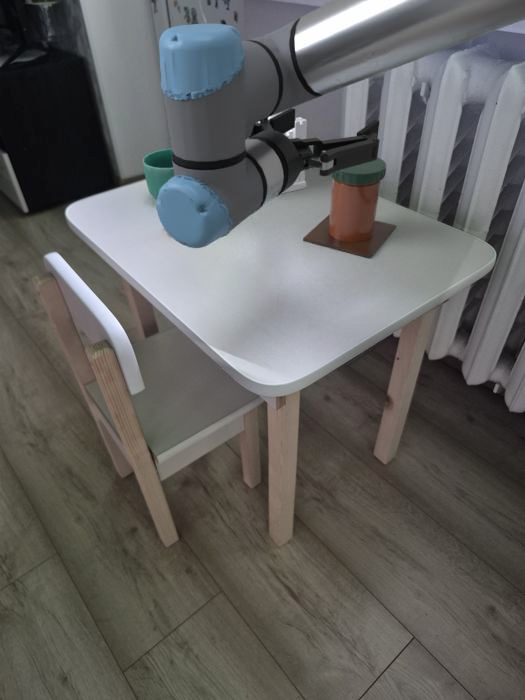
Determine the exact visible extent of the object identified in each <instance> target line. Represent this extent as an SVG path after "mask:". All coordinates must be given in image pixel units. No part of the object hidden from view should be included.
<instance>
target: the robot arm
mask: <svg viewBox="0 0 525 700" xmlns="http://www.w3.org/2000/svg"><path fill="white" fill-rule="evenodd" d="M524 20H525V0H331V1H329V2H327V3H325V4H324V5H322V6H319V7H317V8H316V9H314V10H312V11H310V12H308V13H306V14H304V15H303V16H301V17H300V18H297V19H295V20H293V21H291V22H288V23H287V24H285V25H283V26H281V27H279V28H278V29H276V30H273V31H272V32H269V33H267V34H264V35H261V36H259V37H255V38H252V39H246V40H242V36H241V33H240V32H239V30H238V29H237V28H236V27H234V26H232V25H229V24H224V23H223V24H222V23H192V24H182V25H177V26H172V27H169V28H167V29H166V30H164V31H163V32H162V34H161V35H160V38H159V40H158V49H159V69H160V70H159V71H160V78H161V79H160V87H161V90H162V92H163V98H164V105H165V112H166V119H167V126H168V133H169V139H170V140H169V141H170V145H171V148H172V154H173V157H172V162H173V169H174V177H172V178H171V179H170V180H168V182H167V183H165V184H164V185H163V186H162V187H161V189H160V190H159V194H158V198H157V200H155V201H156V203H155V205H156V211H157V216H158V219H159V221H160V223H161V225H162V227H163V229H164V230H165V231H166V233H167V234H168V235H169V236H170V237H171V238H172V239H173V240H174V241H176V242H177V243H179V244H180V245H182V246H185V247H187V248H192V249H202V248H205V247H208V246H209V245H211V244H213V243H214V242H215V241H218V240H219V239H221V238H223V237H226V236H228V235H229V234H230V232H232V231H233V230H234V229H235V228H236V227H238V225H240V224H241V223H243V222H244V221H245V220H246V219H248V218H249V217H250V216H252V215H253V214H255V213H256V212H257V211H259V210H260V209H261V208H262V207H264V206H265V205H267V204H268V203H269V202H270V201H271V202H272V200H273V199H275V198H276V197H278V196H280V195H282V194H281V193H283V192H284V191H285V190H287V189H288V188H289V187H291V186H292V185H293V184H294V182H295V181H296V179H297V177H298V176H299V174H300V172H301V171H304V170H305V171H307V170H310V169H314V168H315V169H319V171H318V172H319V176H321V177H327V176H328V177H329V176H331V175H330V174H331V173H333V172H335V171H338V170H342V169H345V168H349V167H353V166H356V165H360V164H364V163H367V162H371V161H374V160H377V158H378V155H379V147H380V139H379V138H378V137H379V128H380V120H378V119H377V120H376V119H374V120H373V121H371V122H370V123H368V124H367V125H366V126H364V127H363V128H361V129H360V130H359V131H357V132H356V135H355V136H348V137H339V138H332V139H325V140H321V139H319V138H318V137H309V138H306V139H299V138H293V139H289V138H288V137H286V136H285V135H284V133H286V132H288V131H289V130H291V129H293V128H295V121H296V108H294V107H297V106H299V105H303V104H305V103H307V102H310V101H313V100H315V99H318V98H320V97H322V96H324V95H327V94H329V93H332V92H335V91H338V90H341V89H343V88H345V87H348V86H351V85H353V84H357V83H359V82H362V81H364V80H367V79H370V78H373V77H375V76H377V75H380V74H383V73H386V72H388V71H391V70H393V69H396V68H399V67H401V66H404V65H407V64H410V63H413V62H415V61H418V60H421V59H423V58H425V57H426V58H427V57H428V56H431V55H434V54H437V53H440V52H442V51H445V50H447V49H450V48H452V47H455V46H457V45H460V44H464V43H467V42H468V41H471V40H473V39H477V38H479V37H482V36H485V35H487V34H490V33H492V32H496V31H498V30H500V29H503V28H506V27H508V26H510V25H514V24H517V23H519V22H522V21H524ZM279 112H282V113H281V114H279V115H277V116H275V117H273V118H271V119H270V120H268V117H270V116H272V115H275V114H277V113H279ZM259 121H260V123H258V122H259ZM311 146H312V149H311ZM283 194H284V193H283Z"/></svg>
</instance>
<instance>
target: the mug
mask: <svg viewBox="0 0 525 700" xmlns="http://www.w3.org/2000/svg"><path fill="white" fill-rule="evenodd" d="M172 157H173V154H172V147H171V148H164V149H159V150H156V151H153V152H150V153H148V154H147V155H145V156H144V157H143V159H142V166H143V172H144V176H145V181H146V186H147V189H148V191H149V194H150V196H151V197H152V199H154V200H155V201H157V198H158V194H159V190H160V189H161V187H162V186H163V185H164V184H165V183H167V182H168V180H170V179H171V178H172V177H174V169H173V162H172Z"/></svg>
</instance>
